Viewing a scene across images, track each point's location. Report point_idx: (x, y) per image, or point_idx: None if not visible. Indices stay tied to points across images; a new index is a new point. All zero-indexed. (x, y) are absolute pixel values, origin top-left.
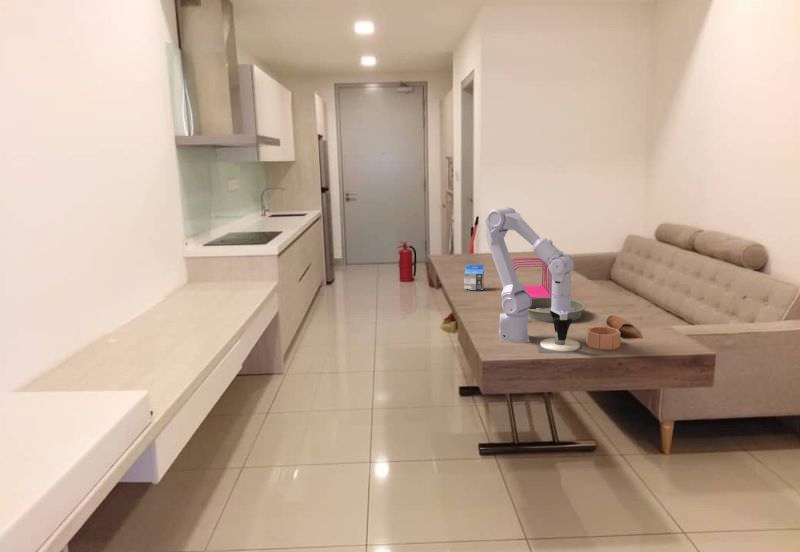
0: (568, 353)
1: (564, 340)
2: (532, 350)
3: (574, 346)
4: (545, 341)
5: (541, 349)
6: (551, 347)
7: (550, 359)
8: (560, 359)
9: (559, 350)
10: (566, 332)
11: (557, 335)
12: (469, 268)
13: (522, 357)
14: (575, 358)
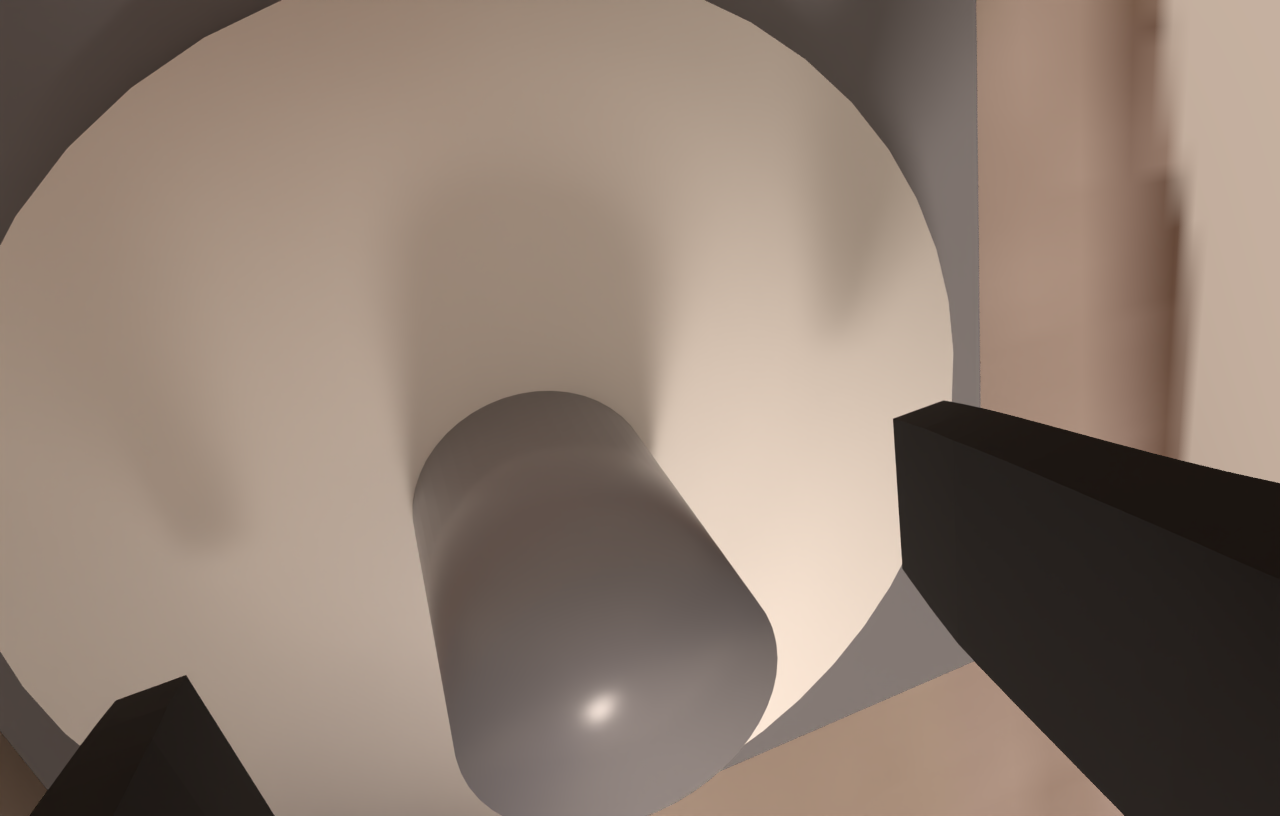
0: (974, 201)
1: (602, 442)
2: (799, 774)
3: (675, 114)
4: (470, 789)
5: (823, 684)
6: (841, 573)
7: (1171, 433)
8: (1178, 291)
9: (940, 399)
10: (1199, 494)
11: (1003, 663)
12: None
13: None
14: (1141, 23)
